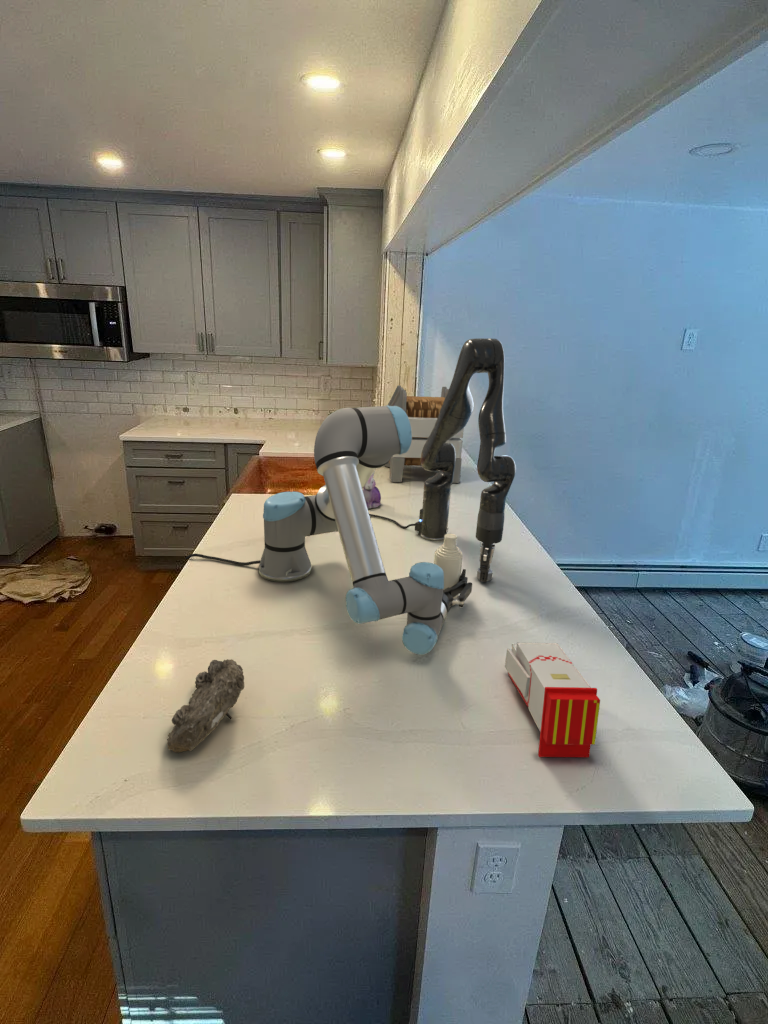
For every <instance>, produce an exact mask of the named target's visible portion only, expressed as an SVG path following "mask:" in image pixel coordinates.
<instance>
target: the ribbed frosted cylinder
mask: <svg viewBox="0 0 768 1024" xmlns="http://www.w3.org/2000/svg"><path fill="white" fill-rule="evenodd" d="M457 539H458V536H457V535H456V534H454V533H447V534H445V536H444V540H443V543H442V544H441V545H440V546H438V548H436V549H435V551H434V554H433V564H436V565H438V566H439V567H441V568H442V570H443V572H444V589H443V590H445V589H446V588H448V587H449V588H450V587H452V586H454V585H455V584H457V583H459V578H460V576H461V573H462V568H463V567H462V566H463V557H464V555H463V552H462V550H461V549H460V548H459V547H458V546H457ZM458 595H459V594H458ZM458 595H456V596H455V597H453V598H454V599H455V598H456V597H457V596H458ZM455 605H456V604H453V605H452V606H451V607H453V606H455Z"/></svg>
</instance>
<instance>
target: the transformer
mask: <svg viewBox="0 0 768 1024" xmlns="http://www.w3.org/2000/svg"><path fill="white" fill-rule="evenodd" d="M448 390H449V388H447V386H442V387H441V392H440V393H441V394H440V396H415V395H414V396H413V395H412V396H411V395H407V394H408V393H407V390H406V389H404V388H403V387H402V385H399V384H398V385H397V386H396V388H395V390H394V392H393V394H392V395H391V398H390V400H389V402H388V404H387V405H388V406H398V407H400V408H402V409H403V410H404V411H405V413H406V414H407V416H408V418H409V421H410V425H411V432H412V440H411V446H410V448H409V450H408V451H407V452H406V453H403V454H401V455H399V454H395V455H393V456H392V457H391V459H390V460H389V461H388V463H387V464H386V465H385V466H384V467H388V468H389V475H388V476H389V477H388V478H389V480H390V482H391V483H402V482H403V475H404V469H405V466H406V467H407V466H411V467H412V466H413V467H415V466H416V467H417V466H418V467H422V465H421V452H422V449H423V447H424V445H425V443H426V441H427V439H428V437H429V435H430V434H431V432H432V430H433V428H434V425H435V423H436V421H437V418H438V415H439V412H440V409H441V407H442V404H443V402H444V400H445V397H446V395H447V393H448ZM464 429H465V427H464V428H463V429H462V430H461V431H460V432H459V433H457V434H456V435H455V436H453V437H452V438H451V439H449V440H448V441H447V442H446V443H450V444H452V445H453V446H454V448H455V452H456V461H455V468H454V475H453V482H452V484H455V483H456V484H459V483H461V472H462V461H463V460H462V453H463V442H464V441H463V440H462V439H463V438H464V431H465V430H464Z"/></svg>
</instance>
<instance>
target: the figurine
mask: <svg viewBox="0 0 768 1024" xmlns="http://www.w3.org/2000/svg"><path fill="white" fill-rule="evenodd" d="M375 472H376V470H375V471H374V473H373V474H372V475H371V477H370V478H369V480H368V481H367V483H366V484H365V486H364V487H363V489H362V490H363V494H364V498H365V501H366V505H367V508H368V510H369V509H375V508H378V507H379V506H380V505H381V500H382V495H381V491H380V489H379V488H378V487H377V486H376V485H377V483H376V480H375V478H374V476H375Z"/></svg>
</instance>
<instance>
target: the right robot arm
mask: <svg viewBox="0 0 768 1024" xmlns="http://www.w3.org/2000/svg"><path fill="white" fill-rule="evenodd" d="M475 374H487V376H488V388H487V392H486V395H485V397H484V399H483V402H482V404H481V406H480V409H479V412H478V433H479V440H480V442H479V443H480V444H479V451H478V457H477V463H476V471H477V475H478V477H479V479H480V480H481V481H483V482H484V483H493V484H491V485H490V486H488V487H485V488H483V490H482V491H481V493H480V499H479V500H480V501H479V509H478V513H477V519H476V520H477V521H476V527H475V528H476V530H475V539H476V540H477V541H479V542H480V547H479V552H480V554H479V567H478V568H479V569H480V579H479V582H480V583H487V582H488V581H487V579H488V571H489V568H490V567H491V564H492V563H493V557H494V553H495V548H496V544H499V543H501V542H502V540H503V533H504V525H505V509H506V502H507V501H506V500H507V497H508V494H509V492H510V490H511V487H512V485H513V482H514V479H515V477H516V472H517V465H516V462H515V460H514V458H513V457H512V456H510V455H505V454H504V455H502V454H501V455H495V452H496V449H497V448H500V447H503V446H505V444H506V443H507V435H506V425H505V419H504V418H505V417H504V416H505V415H504V391H505V351H504V346H503V343H502V342H501V341H500V339H497V338H493V337H492V338H485V337H484V338H479V337H478V338H477V337H476V338H469V339H467V340H466V341H465V342H464V343H463V345H462V347H461V349H460V352H459V355H458V358H457V362H456V365H455V369H454V372H453V376H452V380H451V383H450V385H449V387H448V389H449V390H448V393H447V395H446V397H445V400H444V402H443V404H442V407H441V409H440V412H439V415H438V418H437V421H436V423H435V425H434V428H433V430H432V432H431V434H430V435H429V437H428V439H427V441H426V443H425V445H424V447H423V449H422V452H421V465H422V466H421V467H422V469H423V470H424V471H428V472H436V473H435V475H433V476H431V477H428V478H427V479H425V480H424V482H423V493H422V496H423V497H422V506H421V508H420V509H419V516H418V521H416V522H414V523H409V524H408V525H407V524H406V525H404V526H403V525H402V524H400V523H399V522H398V521H396V520H395V519H392V518H390V517H386V516H382V515H378V514H372V513H369V515H370V517H374V518H379V519H383V520H386V521H389V522H392V523H394V524H395V525H396V526H398V527H399V528H401V529H405V530H406V529H408V528H410V527H414V531H415V532H417V535H418V536H420V538H421V539H424V540H426V541H432V542H440V541H444V536H445V534H448V532H449V527H448V525H449V517H450V516H449V514H450V504H451V494H452V493H451V491H452V485H453V483H452V482H453V475H454V468H455V461H456V452H455V448H454V446H453V445H452V444H450V443H446V442H447V441H448V440H449V439H451V438H452V437H453V436H455V435H456V434H457V433H459V432H460V431H461V430H462V429H463V428H464V429H465V427H466V426H467V424H468V422H469V420H470V418H471V416H472V413H473V411H474V409H475V408H474V407H475V404H474V398H473V395H472V393H471V389H470V382H471V379H472V378H473V376H474V375H475ZM490 569H491V568H490Z"/></svg>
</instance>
